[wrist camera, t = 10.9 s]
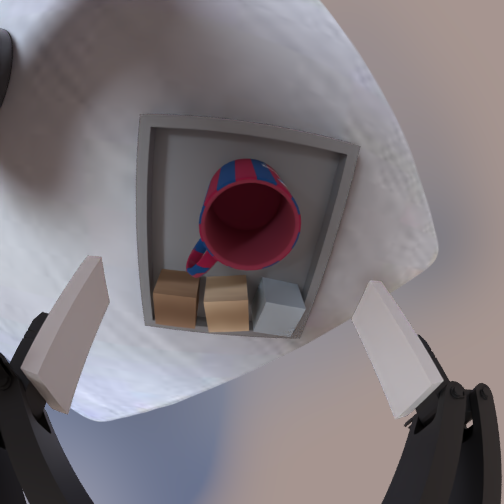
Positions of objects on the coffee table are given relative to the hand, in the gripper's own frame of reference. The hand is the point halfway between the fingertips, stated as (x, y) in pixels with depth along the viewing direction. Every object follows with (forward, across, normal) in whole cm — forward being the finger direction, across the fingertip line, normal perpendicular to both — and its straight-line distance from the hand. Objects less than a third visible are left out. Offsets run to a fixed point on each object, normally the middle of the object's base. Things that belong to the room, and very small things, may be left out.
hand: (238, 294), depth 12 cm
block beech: (+13, +1, -10) cm, 16 cm away
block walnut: (+13, -4, -10) cm, 17 cm away
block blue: (+13, +6, -10) cm, 17 cm away
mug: (+13, 0, -1) cm, 13 cm away
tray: (+13, +1, -4) cm, 14 cm away
